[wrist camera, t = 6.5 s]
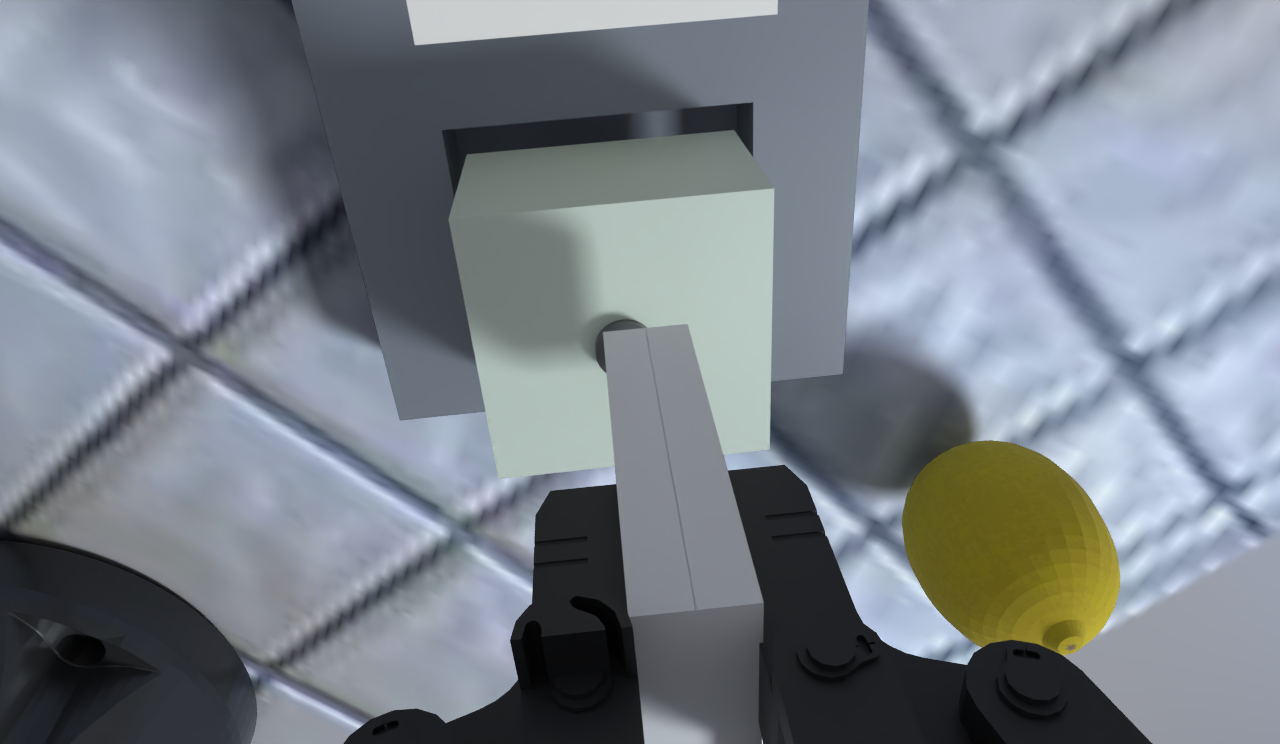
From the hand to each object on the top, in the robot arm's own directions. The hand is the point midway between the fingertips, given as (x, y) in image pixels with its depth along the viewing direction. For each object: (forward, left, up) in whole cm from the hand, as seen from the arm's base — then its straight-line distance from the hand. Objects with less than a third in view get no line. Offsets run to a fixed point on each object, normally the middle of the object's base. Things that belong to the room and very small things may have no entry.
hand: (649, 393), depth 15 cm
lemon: (+11, -10, -9) cm, 17 cm away
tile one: (0, 0, -6) cm, 6 cm away
